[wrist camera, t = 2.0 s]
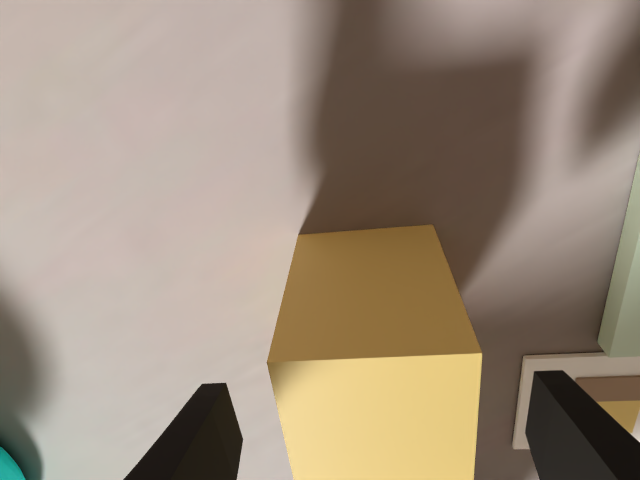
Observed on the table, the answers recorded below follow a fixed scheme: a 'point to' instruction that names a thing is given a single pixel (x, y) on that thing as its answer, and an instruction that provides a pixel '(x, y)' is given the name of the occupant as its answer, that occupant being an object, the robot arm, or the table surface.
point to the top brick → (375, 359)
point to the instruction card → (587, 386)
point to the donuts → (9, 467)
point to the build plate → (625, 286)
